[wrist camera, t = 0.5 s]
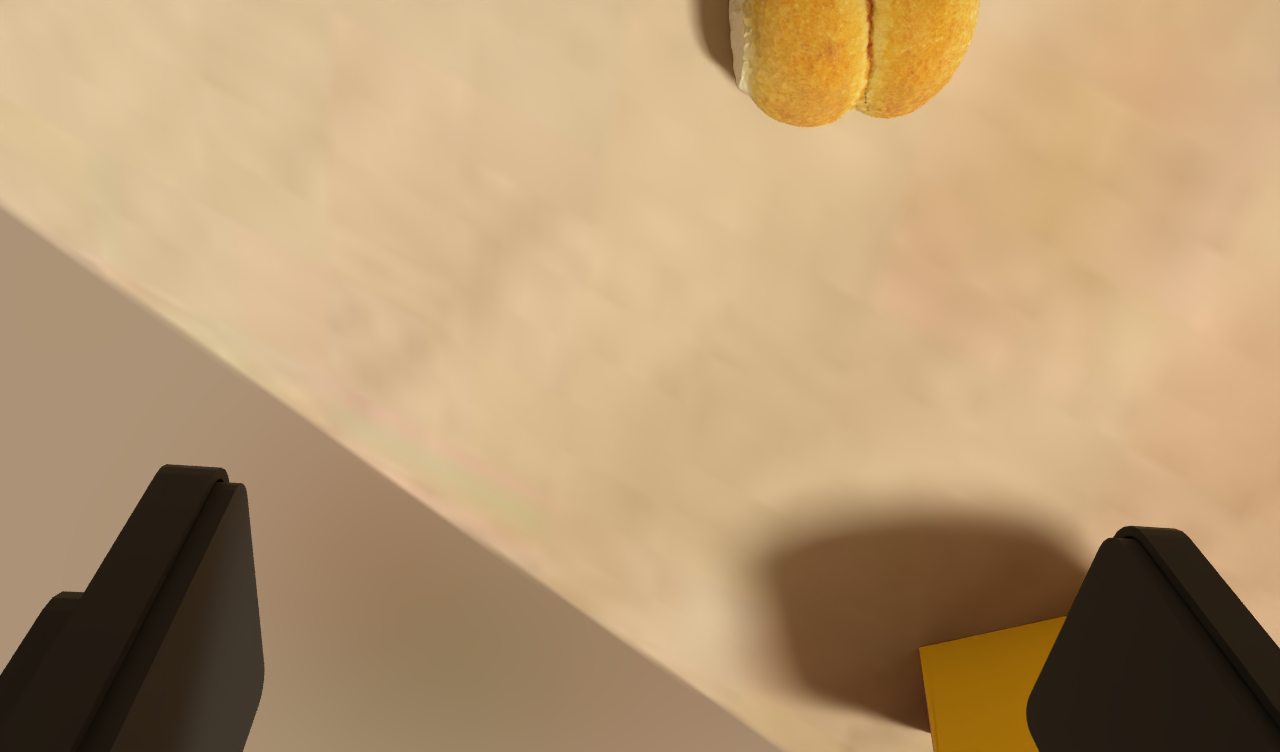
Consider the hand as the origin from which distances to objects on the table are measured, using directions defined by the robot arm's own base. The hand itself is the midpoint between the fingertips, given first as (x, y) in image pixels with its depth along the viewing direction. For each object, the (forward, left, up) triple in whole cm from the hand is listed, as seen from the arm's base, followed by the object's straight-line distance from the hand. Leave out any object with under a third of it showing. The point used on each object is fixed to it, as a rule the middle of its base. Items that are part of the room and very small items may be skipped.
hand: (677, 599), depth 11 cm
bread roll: (-7, +5, -31) cm, 32 cm away
